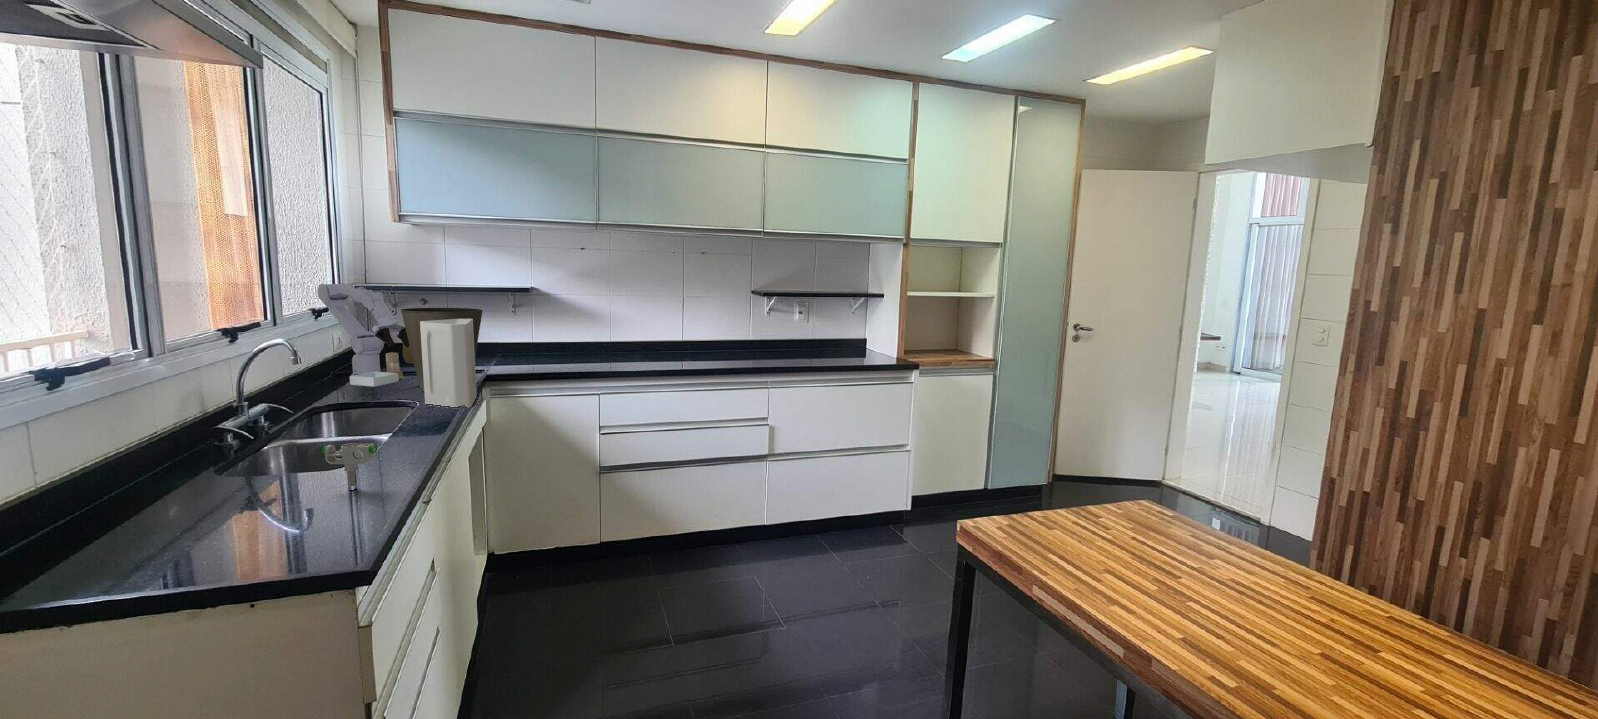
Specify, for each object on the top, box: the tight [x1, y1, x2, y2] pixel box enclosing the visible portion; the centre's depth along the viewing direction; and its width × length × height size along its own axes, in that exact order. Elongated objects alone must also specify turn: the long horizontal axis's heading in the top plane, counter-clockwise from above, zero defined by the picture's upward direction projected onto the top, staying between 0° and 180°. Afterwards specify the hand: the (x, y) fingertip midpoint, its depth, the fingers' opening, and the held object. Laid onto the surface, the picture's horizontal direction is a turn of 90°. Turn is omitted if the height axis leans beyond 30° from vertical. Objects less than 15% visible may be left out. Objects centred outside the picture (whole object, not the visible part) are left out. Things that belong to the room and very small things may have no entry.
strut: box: [385, 352, 404, 378], centre depth 258 cm, size 4×4×10 cm
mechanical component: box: [321, 442, 378, 486], centre depth 141 cm, size 3×10×10 cm, turn 95°
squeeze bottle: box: [402, 342, 414, 365], centre depth 297 cm, size 8×8×18 cm
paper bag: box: [420, 319, 477, 409], centre depth 222 cm, size 19×15×28 cm
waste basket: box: [400, 307, 484, 392], centre depth 243 cm, size 27×20×30 cm
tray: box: [349, 371, 400, 388], centre depth 248 cm, size 11×11×4 cm
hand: (400, 346), depth 258 cm, fingers open, 7 cm apart
